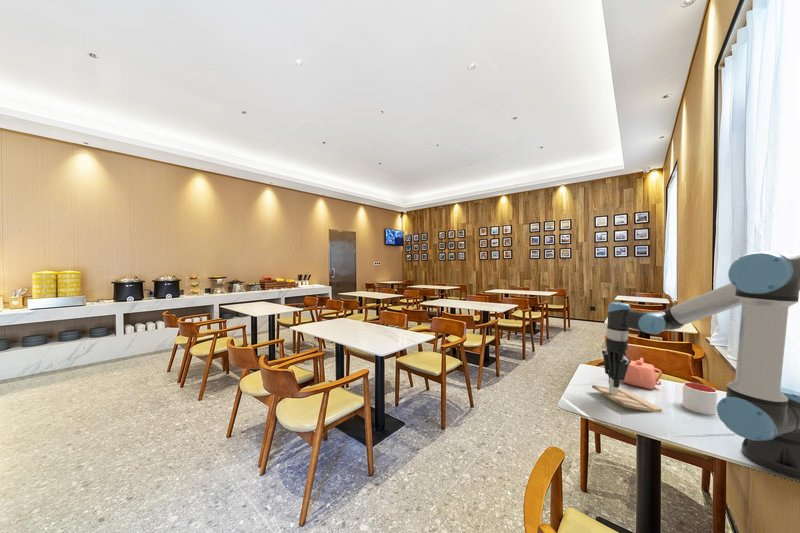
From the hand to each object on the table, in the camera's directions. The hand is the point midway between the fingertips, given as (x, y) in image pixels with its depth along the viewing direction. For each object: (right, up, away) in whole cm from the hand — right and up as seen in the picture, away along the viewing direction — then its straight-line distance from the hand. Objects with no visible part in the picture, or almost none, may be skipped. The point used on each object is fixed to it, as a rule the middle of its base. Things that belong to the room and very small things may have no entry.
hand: (613, 393), depth 130 cm
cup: (+32, -6, -5) cm, 33 cm away
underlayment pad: (+4, -5, 0) cm, 6 cm away
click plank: (+3, -2, 0) cm, 4 cm away
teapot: (+26, -5, +19) cm, 33 cm away
